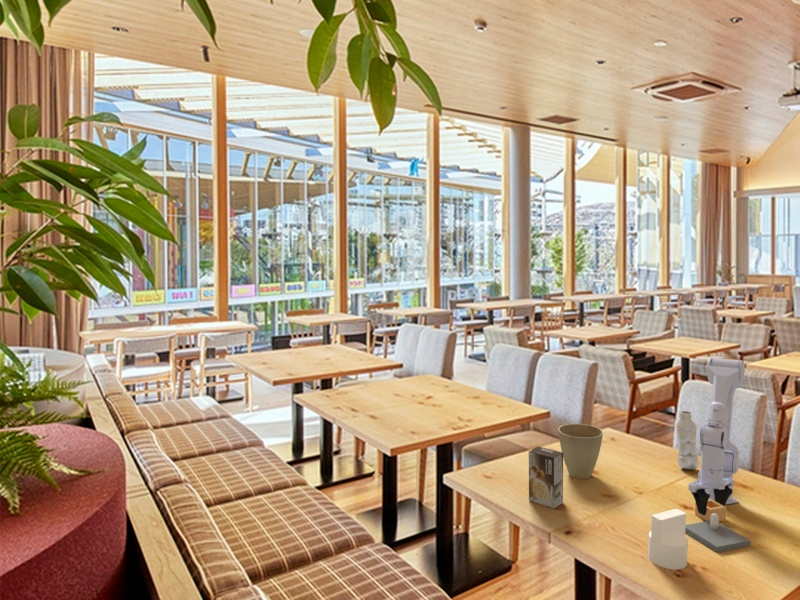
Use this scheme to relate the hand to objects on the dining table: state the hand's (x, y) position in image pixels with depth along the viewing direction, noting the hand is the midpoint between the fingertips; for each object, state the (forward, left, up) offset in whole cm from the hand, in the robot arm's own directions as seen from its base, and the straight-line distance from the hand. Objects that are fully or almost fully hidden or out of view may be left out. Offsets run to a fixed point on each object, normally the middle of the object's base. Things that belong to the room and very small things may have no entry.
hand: (710, 512), depth 168 cm
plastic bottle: (-31, +21, -2) cm, 37 cm away
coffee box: (-24, -40, -2) cm, 47 cm away
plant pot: (-39, -18, -2) cm, 43 cm away
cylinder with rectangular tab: (+15, -28, -2) cm, 32 cm away
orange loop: (0, 0, -2) cm, 2 cm away
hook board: (+10, -8, -2) cm, 13 cm away
